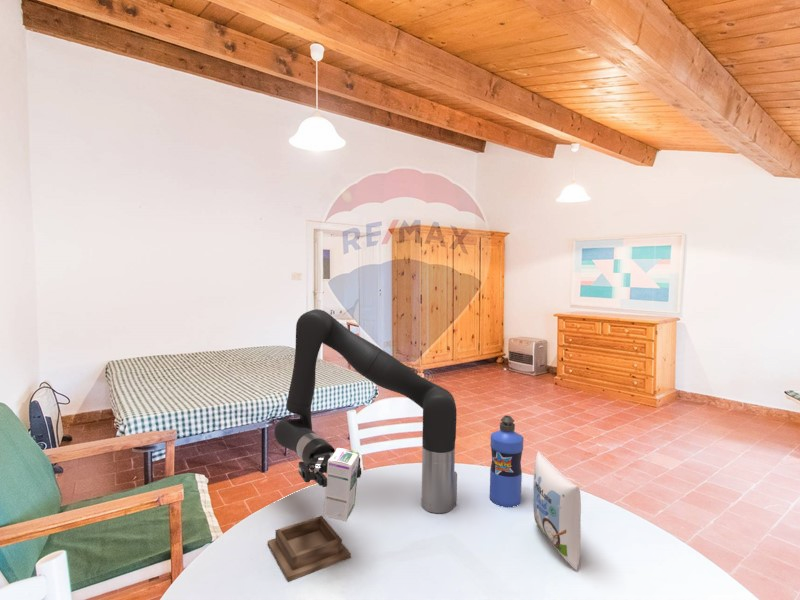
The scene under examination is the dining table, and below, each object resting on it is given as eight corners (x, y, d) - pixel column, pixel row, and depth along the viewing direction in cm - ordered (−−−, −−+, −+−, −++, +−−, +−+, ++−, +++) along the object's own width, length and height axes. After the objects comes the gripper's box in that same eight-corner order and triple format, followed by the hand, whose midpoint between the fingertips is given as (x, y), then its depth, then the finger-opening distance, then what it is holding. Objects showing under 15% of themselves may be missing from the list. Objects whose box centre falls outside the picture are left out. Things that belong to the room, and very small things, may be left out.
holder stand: (324, 525, 115) (324, 511, 115) (350, 557, 103) (350, 541, 103) (267, 544, 107) (267, 528, 107) (288, 581, 95) (287, 563, 94)
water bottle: (515, 511, 124) (518, 424, 122) (484, 501, 128) (486, 417, 127) (525, 497, 131) (528, 415, 130) (495, 488, 136) (497, 409, 135)
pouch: (553, 522, 118) (555, 450, 117) (589, 571, 99) (593, 485, 98) (524, 524, 117) (526, 451, 116) (555, 573, 98) (559, 486, 97)
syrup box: (346, 522, 99) (352, 465, 96) (322, 516, 100) (327, 459, 97) (354, 506, 105) (360, 452, 102) (331, 500, 106) (336, 446, 103)
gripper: (288, 443, 110) (313, 469, 96) (340, 432, 117) (370, 455, 104) (288, 472, 110) (313, 502, 97) (340, 460, 118) (369, 486, 105)
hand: (342, 478), depth 100 cm, fingers closed on syrup box, 8 cm apart
